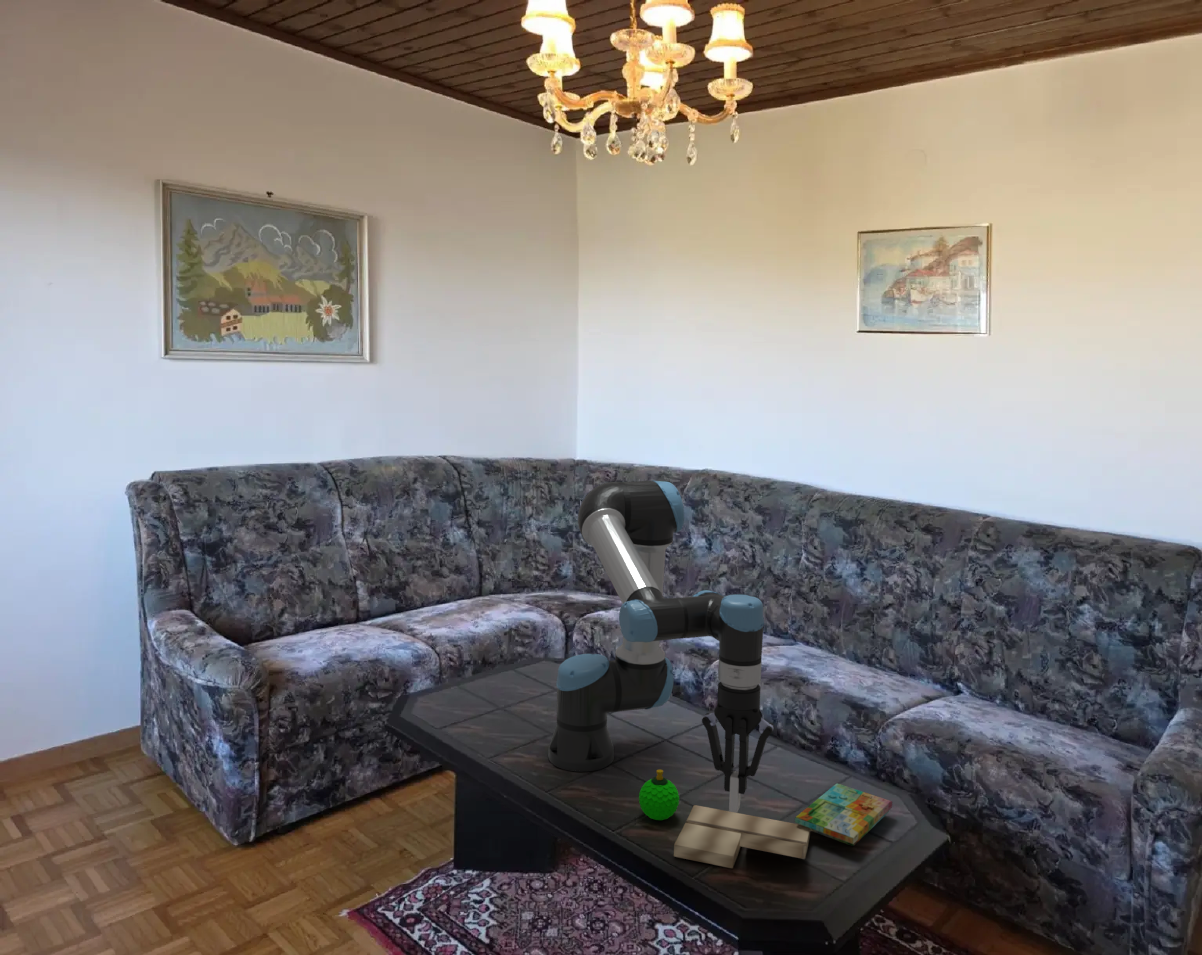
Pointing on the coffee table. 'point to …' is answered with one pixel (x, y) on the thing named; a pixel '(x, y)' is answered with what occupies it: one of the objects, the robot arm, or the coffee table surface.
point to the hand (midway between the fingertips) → (734, 808)
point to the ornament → (659, 797)
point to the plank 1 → (708, 845)
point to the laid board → (749, 825)
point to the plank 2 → (772, 845)
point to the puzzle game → (844, 814)
